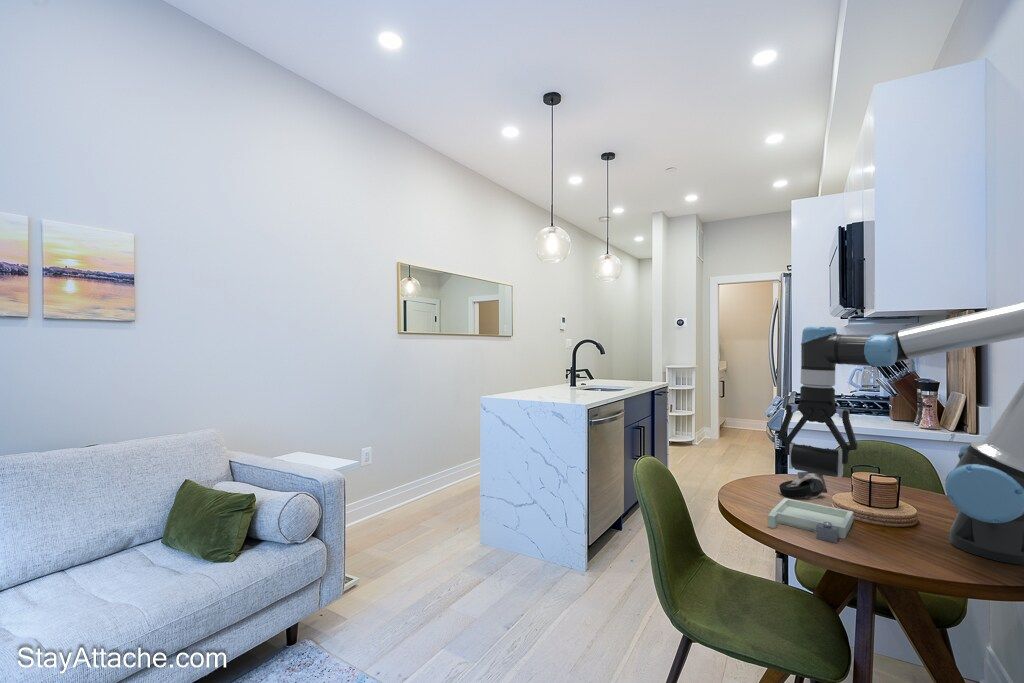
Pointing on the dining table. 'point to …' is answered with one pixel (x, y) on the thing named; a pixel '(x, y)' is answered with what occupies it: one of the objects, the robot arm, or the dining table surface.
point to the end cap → (815, 459)
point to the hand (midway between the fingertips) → (815, 471)
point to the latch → (827, 532)
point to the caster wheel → (804, 486)
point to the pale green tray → (809, 516)
